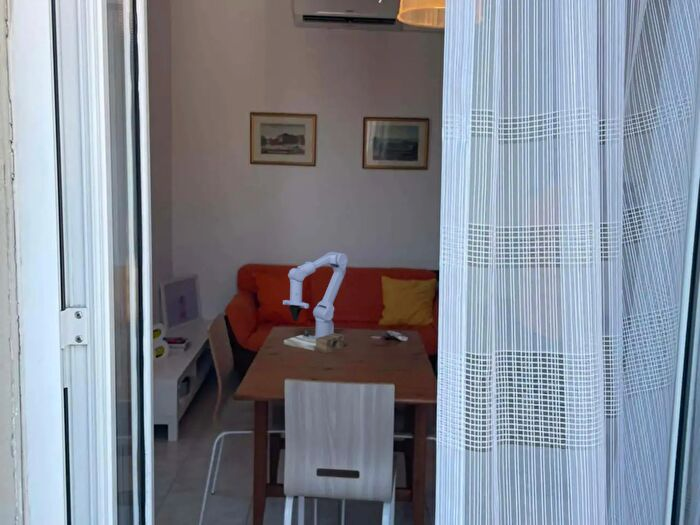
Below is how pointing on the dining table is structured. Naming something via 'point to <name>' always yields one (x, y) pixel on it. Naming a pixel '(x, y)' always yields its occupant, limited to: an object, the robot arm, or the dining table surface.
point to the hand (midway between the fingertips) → (295, 320)
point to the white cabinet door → (318, 343)
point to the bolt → (309, 337)
